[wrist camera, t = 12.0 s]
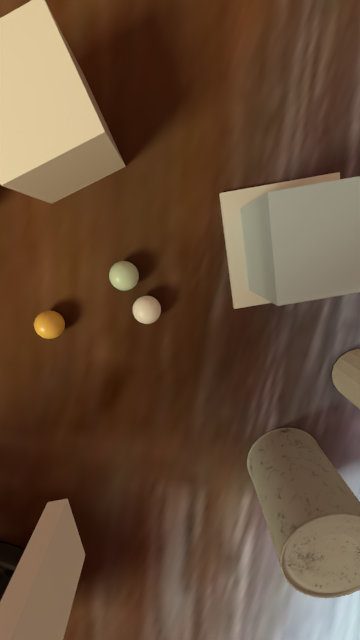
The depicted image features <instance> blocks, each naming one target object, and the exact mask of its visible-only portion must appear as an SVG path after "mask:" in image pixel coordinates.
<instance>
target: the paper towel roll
mask: <svg viewBox="0 0 360 640" xmlns="http://www.w3.org/2000/svg"><path fill="white" fill-rule="evenodd" d="M332 380H333V384H334V386H335V387H336V388H337V390H338V391H339V392H340V393H341V394H342V395H343V396H345V397H346V398H347V399H348V400H349V401H350V402H352V403H353V404H354V405H355V406H356V407H357V408H358V409H360V349H355V350H352V351H348V352H347V353H345V354H344V355H342V356H341V357H340V358H339V359H338V360H337V362H336V363H335V365H334V366H333V371H332Z"/></svg>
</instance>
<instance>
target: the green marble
mask: <svg viewBox="0 0 360 640" xmlns="http://www.w3.org/2000/svg"><path fill="white" fill-rule="evenodd" d="M109 278H110V281H111V283H112V285H113V286H114V287H116V288H117V289H119V290H130V289H132V288H133V287H134V286H135V285H136V284H137V282H138V279H139V273H138V270H137V268H136V267H135V266H134V265H133V264H132V263H130V262H127V261H120V262H117V263H115V264H114V265H113V266H112V268H111V269H110V273H109Z"/></svg>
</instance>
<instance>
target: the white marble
mask: <svg viewBox="0 0 360 640" xmlns="http://www.w3.org/2000/svg"><path fill="white" fill-rule="evenodd" d="M160 314H161V306H160V304H159V302H158V301H157V300H156V299H155V298H154V297H152V296H142V297H140V298H138V299H137V300H136V301H135V303H134V305H133V315H134V317H135V318H136V319H137V320H138V321H139V322H141V323H144V324H150V323H153V322H155V321H156V320H157V319H158V318H159V316H160Z"/></svg>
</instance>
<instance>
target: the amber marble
mask: <svg viewBox="0 0 360 640" xmlns="http://www.w3.org/2000/svg"><path fill="white" fill-rule="evenodd" d="M34 327H35V330H36V332H37V333H38V334H39V335H40V336H41V337H43V338H47V339H52V338H56V337H58V336H59V335H60V334H61V333H62V332H63V331H64V328H65V321H64V319H63V317H62V316H61V315H60V314H59V313H57V312H55V311H44V312H42V313H40V314H39V315H38V316H37V317H36V319H35V322H34Z"/></svg>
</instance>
